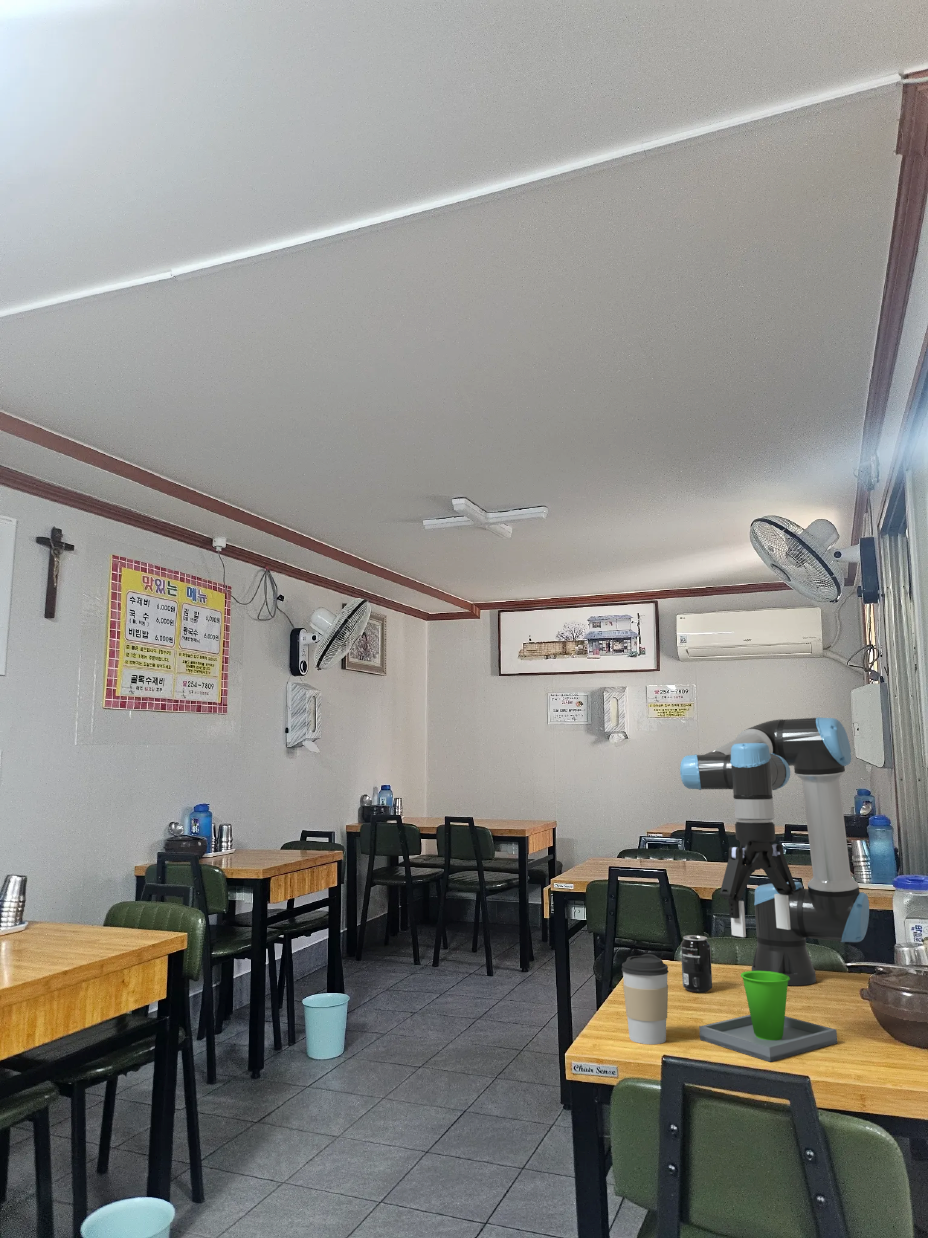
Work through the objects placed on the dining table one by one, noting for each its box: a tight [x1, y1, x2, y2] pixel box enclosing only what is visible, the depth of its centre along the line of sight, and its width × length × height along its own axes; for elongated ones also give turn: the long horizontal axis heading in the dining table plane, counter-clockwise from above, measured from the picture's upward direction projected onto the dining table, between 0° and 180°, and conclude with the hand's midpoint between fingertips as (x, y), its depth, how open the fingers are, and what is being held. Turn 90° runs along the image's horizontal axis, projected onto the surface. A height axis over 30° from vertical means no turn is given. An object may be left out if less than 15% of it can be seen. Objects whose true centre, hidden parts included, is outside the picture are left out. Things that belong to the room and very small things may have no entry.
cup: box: [740, 970, 790, 1040], centre depth 165 cm, size 9×9×11 cm
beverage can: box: [680, 934, 713, 994], centre depth 204 cm, size 7×7×12 cm
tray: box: [698, 1014, 838, 1063], centre depth 164 cm, size 20×16×2 cm
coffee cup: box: [621, 953, 670, 1045], centre depth 166 cm, size 9×9×15 cm
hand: (761, 932), depth 167 cm, fingers open, 13 cm apart
